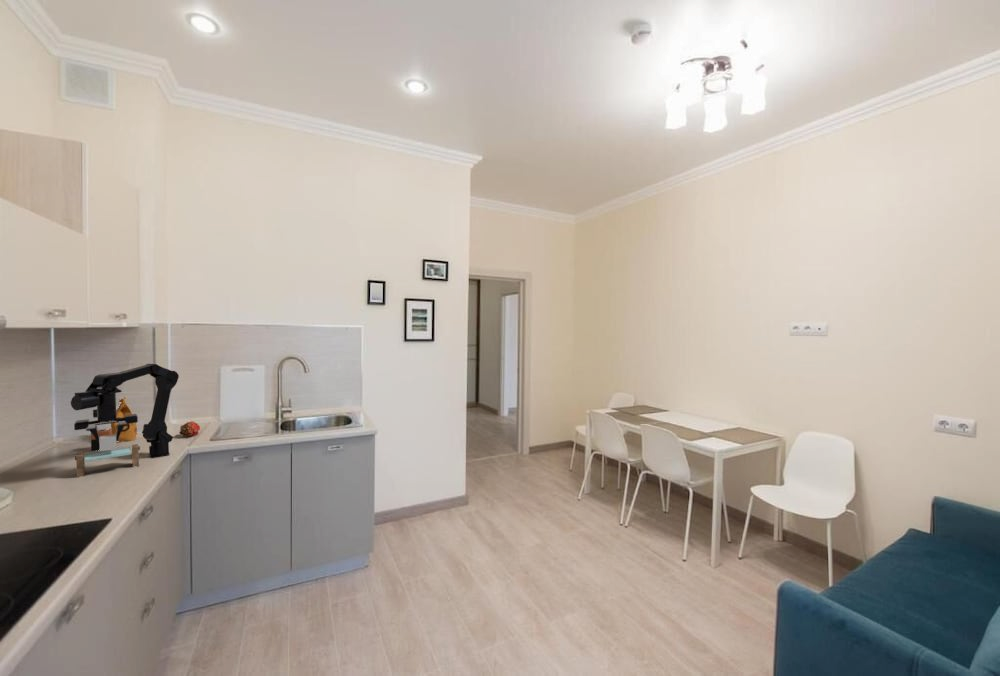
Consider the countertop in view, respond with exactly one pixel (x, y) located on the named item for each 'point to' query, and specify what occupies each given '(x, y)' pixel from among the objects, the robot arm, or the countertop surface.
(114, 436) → the grey cube
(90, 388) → the robot arm
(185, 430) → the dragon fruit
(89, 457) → the trapdoor
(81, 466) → the trapdoor frame
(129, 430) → the coffee package
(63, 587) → the countertop surface
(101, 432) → the battery
